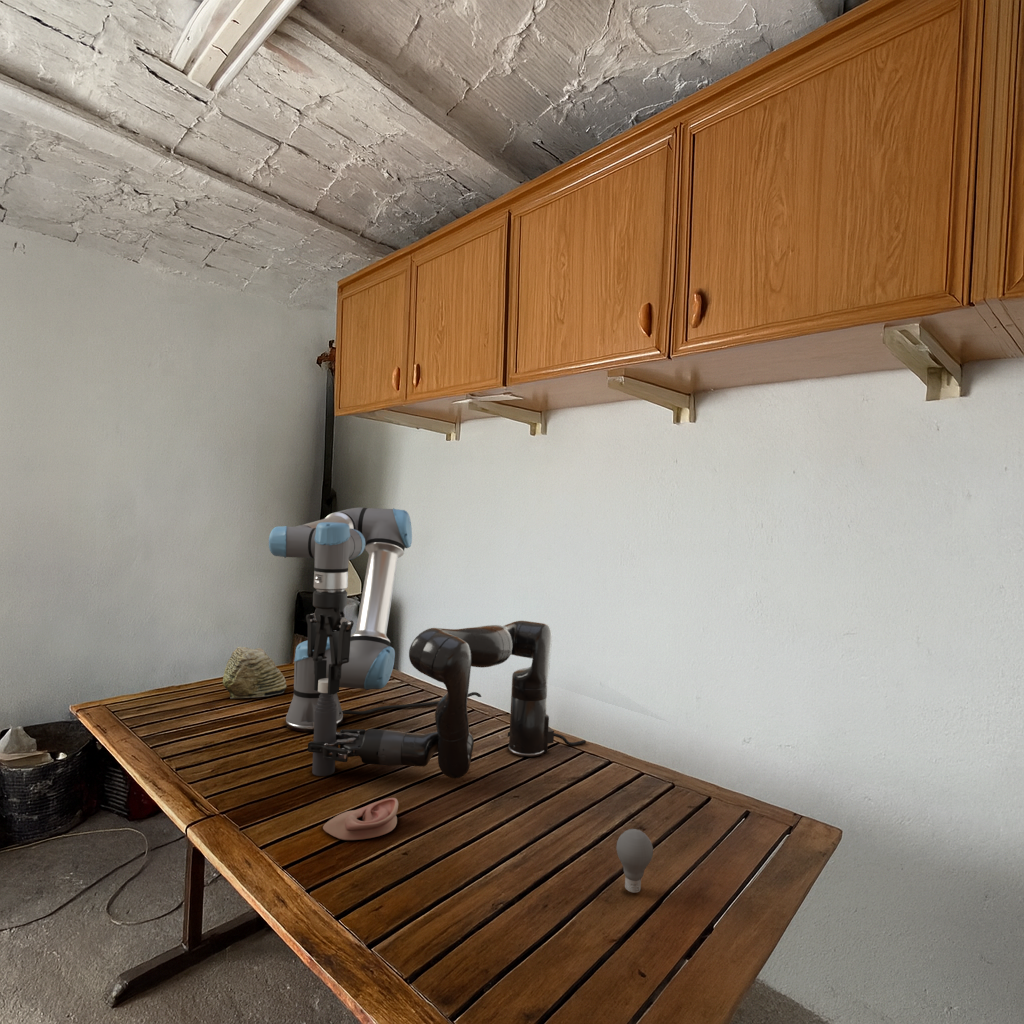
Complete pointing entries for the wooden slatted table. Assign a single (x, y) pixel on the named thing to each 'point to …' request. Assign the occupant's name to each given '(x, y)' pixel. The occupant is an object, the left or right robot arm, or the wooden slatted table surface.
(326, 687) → the cap
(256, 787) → the wooden slatted table surface
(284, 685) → the fossil
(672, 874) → the wooden slatted table surface
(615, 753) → the wooden slatted table surface
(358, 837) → the anatomical model
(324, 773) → the bottle
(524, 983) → the wooden slatted table surface
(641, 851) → the light bulb
